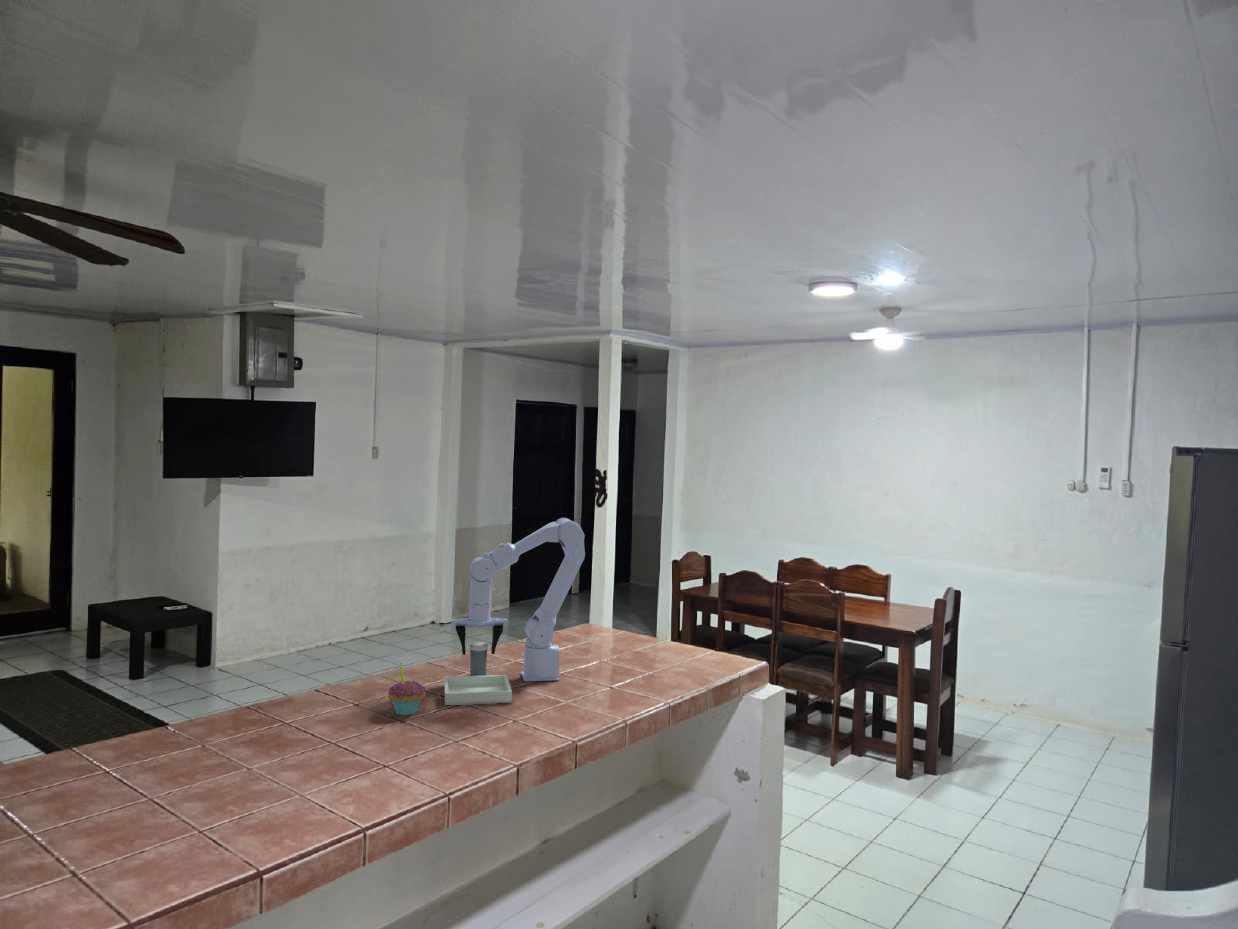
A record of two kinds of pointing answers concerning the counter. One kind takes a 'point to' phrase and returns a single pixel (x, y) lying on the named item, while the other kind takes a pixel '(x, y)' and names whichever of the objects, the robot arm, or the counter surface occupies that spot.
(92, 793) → the counter surface
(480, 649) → the cylinder
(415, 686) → the cupcake
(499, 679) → the tray
